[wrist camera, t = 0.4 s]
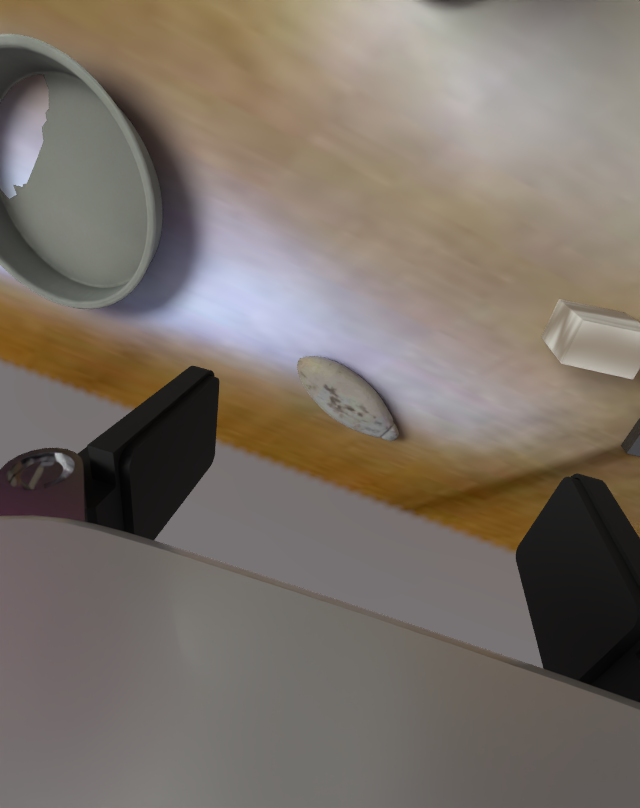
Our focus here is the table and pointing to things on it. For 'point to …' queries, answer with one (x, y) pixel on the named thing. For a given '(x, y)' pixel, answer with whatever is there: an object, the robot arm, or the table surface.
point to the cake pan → (78, 189)
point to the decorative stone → (346, 397)
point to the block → (594, 338)
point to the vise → (633, 441)
